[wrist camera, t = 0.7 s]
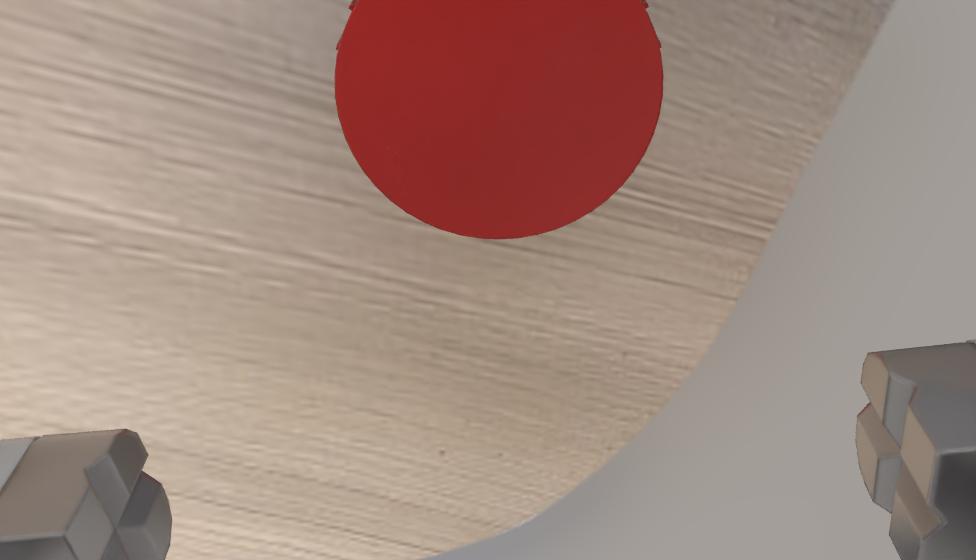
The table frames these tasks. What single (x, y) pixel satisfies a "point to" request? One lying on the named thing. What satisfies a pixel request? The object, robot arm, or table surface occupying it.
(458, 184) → the jar lid
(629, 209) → the table surface
